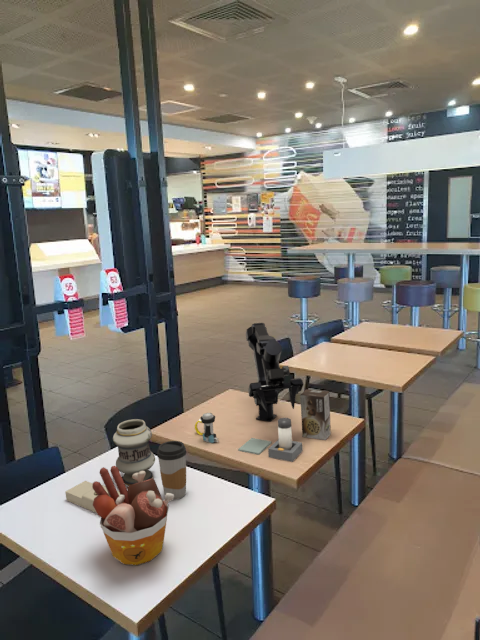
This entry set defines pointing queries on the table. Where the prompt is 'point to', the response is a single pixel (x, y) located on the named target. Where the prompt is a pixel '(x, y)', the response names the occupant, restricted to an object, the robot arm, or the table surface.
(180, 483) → the coffee cup
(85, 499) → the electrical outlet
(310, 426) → the coffee box
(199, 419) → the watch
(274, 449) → the grey square holder
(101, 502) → the bucket of meat
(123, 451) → the apothecary jar
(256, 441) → the rubber mat
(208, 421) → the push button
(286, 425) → the white capped cylinder
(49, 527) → the table surface
